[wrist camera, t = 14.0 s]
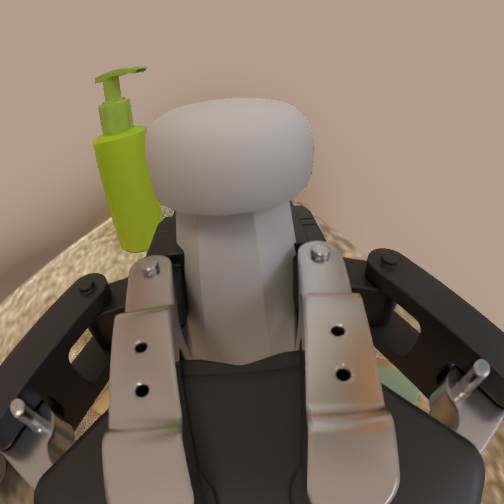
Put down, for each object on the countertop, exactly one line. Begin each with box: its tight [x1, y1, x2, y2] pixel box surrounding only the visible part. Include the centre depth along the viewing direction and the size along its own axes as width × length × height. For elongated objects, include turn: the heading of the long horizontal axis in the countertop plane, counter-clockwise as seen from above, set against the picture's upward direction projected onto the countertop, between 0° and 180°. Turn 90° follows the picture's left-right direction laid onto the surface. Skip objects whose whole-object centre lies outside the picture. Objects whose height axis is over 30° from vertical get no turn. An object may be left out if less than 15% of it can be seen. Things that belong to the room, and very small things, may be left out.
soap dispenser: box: [93, 67, 163, 252], centre depth 27 cm, size 6×7×20 cm
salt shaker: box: [145, 98, 314, 365], centre depth 10 cm, size 6×6×13 cm
